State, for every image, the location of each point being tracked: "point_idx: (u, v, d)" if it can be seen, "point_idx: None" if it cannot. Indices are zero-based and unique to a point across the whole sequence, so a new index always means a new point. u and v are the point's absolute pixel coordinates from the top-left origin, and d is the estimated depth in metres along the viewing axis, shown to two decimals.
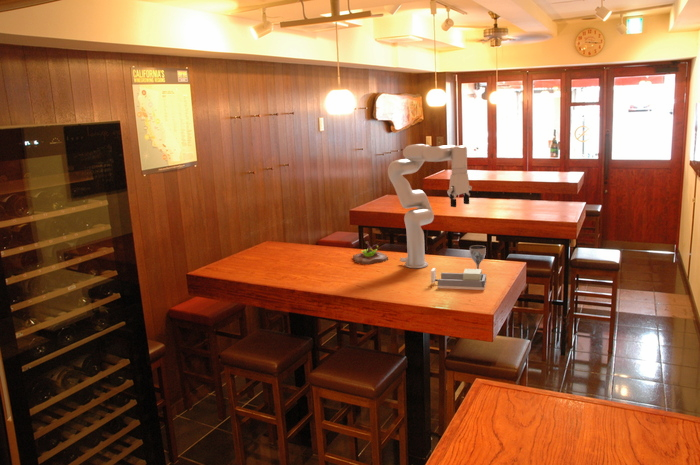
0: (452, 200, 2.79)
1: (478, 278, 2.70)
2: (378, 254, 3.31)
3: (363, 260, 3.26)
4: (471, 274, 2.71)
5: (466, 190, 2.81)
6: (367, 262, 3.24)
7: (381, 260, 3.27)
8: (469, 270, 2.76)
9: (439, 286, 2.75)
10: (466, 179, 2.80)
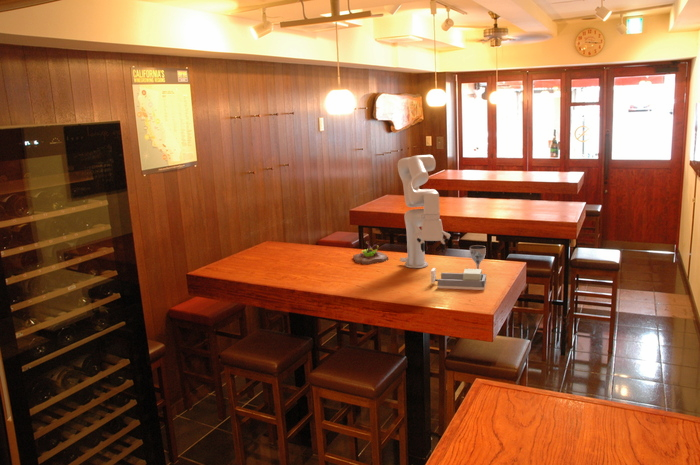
0: (444, 244, 2.76)
1: (478, 278, 2.70)
2: (378, 254, 3.31)
3: (363, 259, 3.26)
4: (471, 274, 2.71)
5: None
6: (367, 262, 3.24)
7: (381, 260, 3.27)
8: (469, 270, 2.76)
9: (439, 286, 2.75)
10: None
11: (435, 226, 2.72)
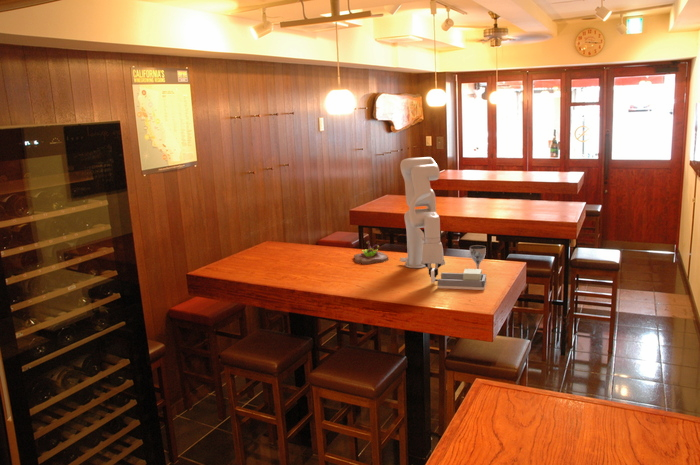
0: (437, 269, 2.80)
1: (478, 278, 2.70)
2: (378, 254, 3.31)
3: (363, 259, 3.27)
4: (471, 274, 2.71)
5: None
6: (366, 262, 3.24)
7: (381, 260, 3.27)
8: (469, 270, 2.76)
9: (439, 286, 2.75)
10: None
11: (436, 249, 2.75)
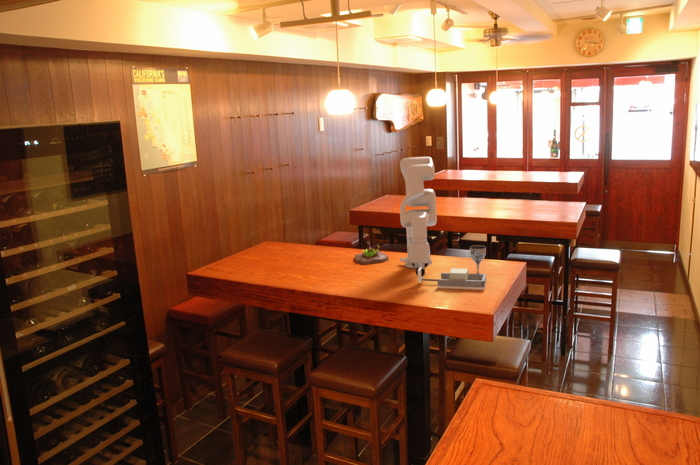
0: (424, 269, 2.82)
1: (464, 278, 2.72)
2: (378, 254, 3.31)
3: (363, 259, 3.27)
4: (457, 274, 2.73)
5: None
6: (366, 262, 3.24)
7: (380, 260, 3.26)
8: (455, 270, 2.78)
9: (439, 286, 2.75)
10: None
11: (422, 249, 2.77)
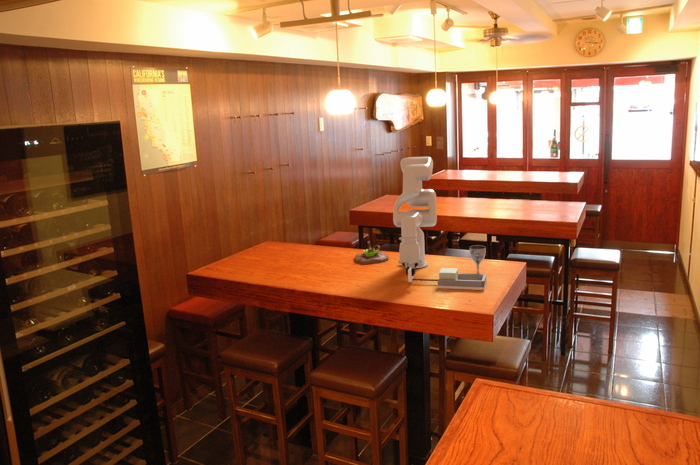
0: (414, 269, 2.84)
1: (454, 277, 2.74)
2: (378, 254, 3.30)
3: (362, 259, 3.27)
4: (447, 273, 2.75)
5: None
6: (365, 262, 3.25)
7: (380, 260, 3.26)
8: (445, 269, 2.80)
9: (439, 286, 2.75)
10: None
11: (412, 249, 2.79)
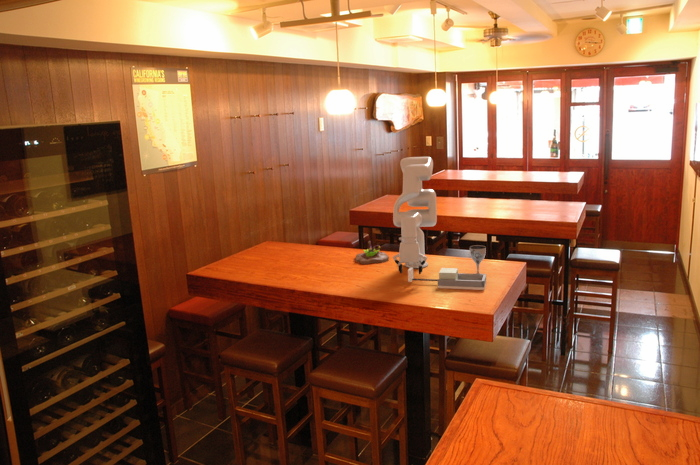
0: (421, 266, 2.82)
1: (454, 277, 2.74)
2: (379, 254, 3.30)
3: (362, 259, 3.27)
4: (447, 273, 2.75)
5: None
6: (365, 262, 3.25)
7: (380, 261, 3.26)
8: (445, 269, 2.80)
9: (439, 286, 2.75)
10: None
11: (412, 249, 2.79)
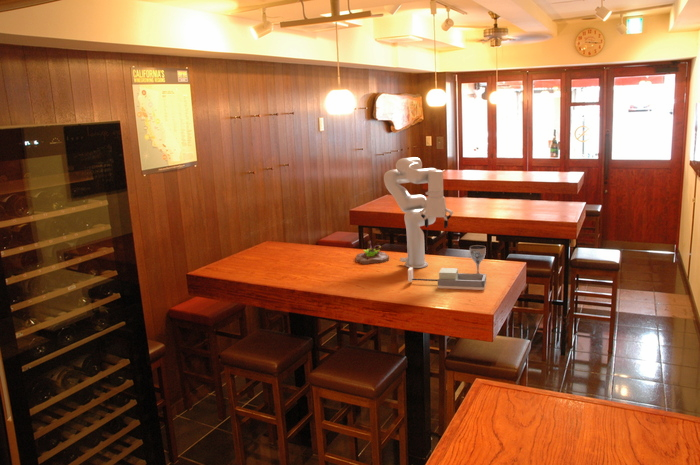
0: (447, 221, 2.88)
1: (454, 277, 2.74)
2: (379, 254, 3.30)
3: (362, 259, 3.27)
4: (447, 273, 2.75)
5: None
6: (365, 262, 3.25)
7: (380, 261, 3.26)
8: (445, 269, 2.80)
9: (439, 286, 2.75)
10: None
11: (438, 203, 2.85)
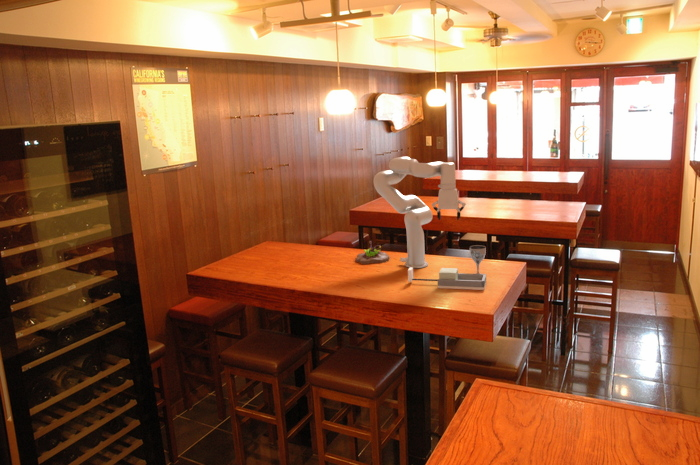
0: None
1: (454, 277, 2.74)
2: (379, 255, 3.30)
3: (362, 259, 3.28)
4: (447, 273, 2.75)
5: None
6: (364, 262, 3.25)
7: (379, 261, 3.26)
8: (445, 269, 2.80)
9: (439, 286, 2.75)
10: None
11: (451, 195, 2.89)
